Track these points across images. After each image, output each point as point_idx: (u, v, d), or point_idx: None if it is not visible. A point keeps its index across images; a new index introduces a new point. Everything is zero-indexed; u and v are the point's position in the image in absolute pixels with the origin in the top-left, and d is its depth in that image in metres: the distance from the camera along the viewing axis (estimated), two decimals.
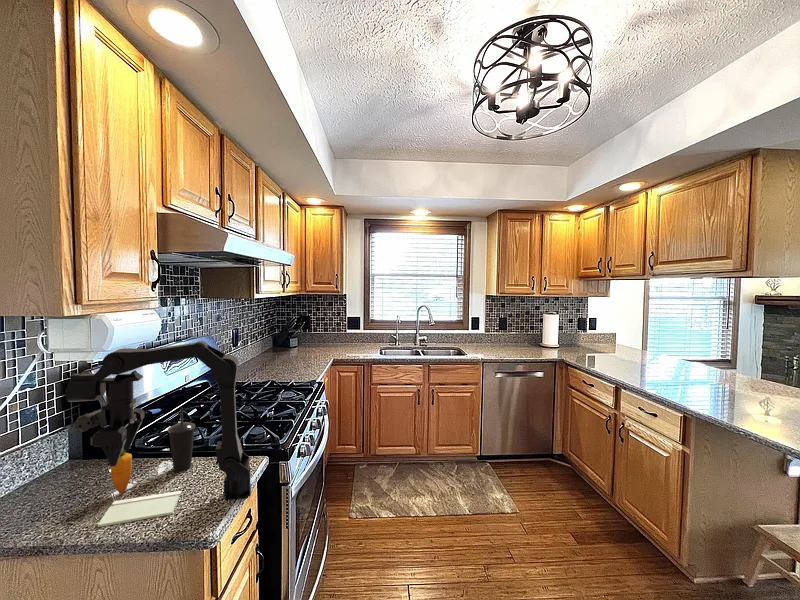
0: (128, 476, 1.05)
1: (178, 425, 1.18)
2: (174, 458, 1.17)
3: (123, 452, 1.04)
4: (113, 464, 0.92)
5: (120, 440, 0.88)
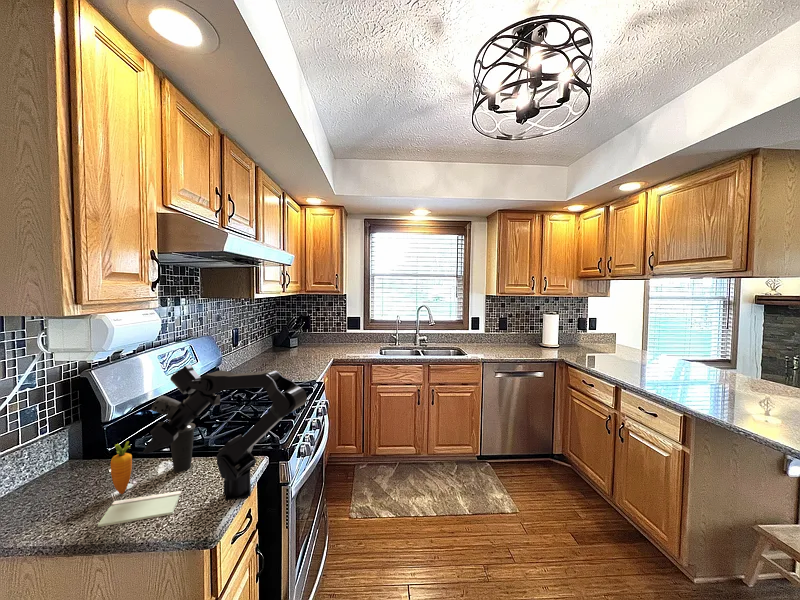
0: (128, 476, 1.05)
1: None
2: (174, 458, 1.17)
3: (123, 452, 1.04)
4: (145, 451, 1.02)
5: (168, 444, 0.99)
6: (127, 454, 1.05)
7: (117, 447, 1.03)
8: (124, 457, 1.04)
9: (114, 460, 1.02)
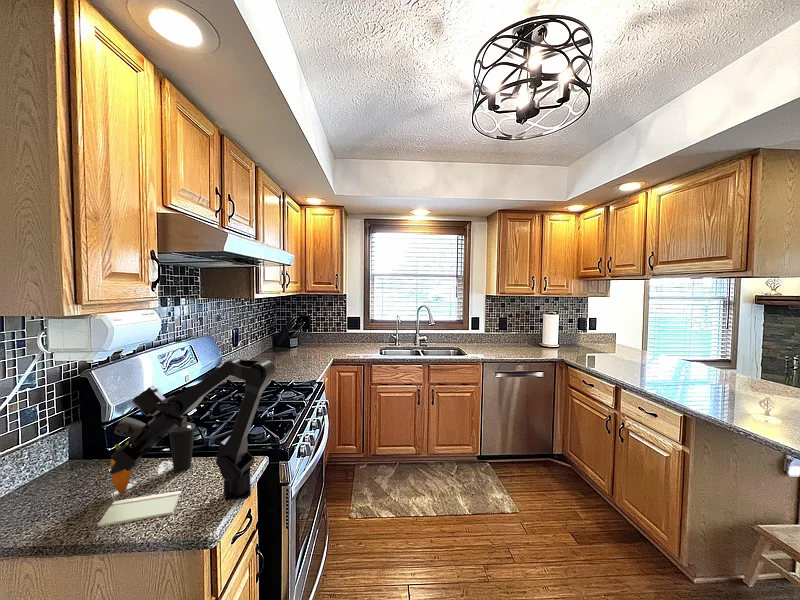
0: (128, 476, 1.05)
1: None
2: (174, 458, 1.17)
3: None
4: (111, 472, 1.02)
5: (130, 469, 0.97)
6: None
7: (117, 447, 1.03)
8: None
9: None
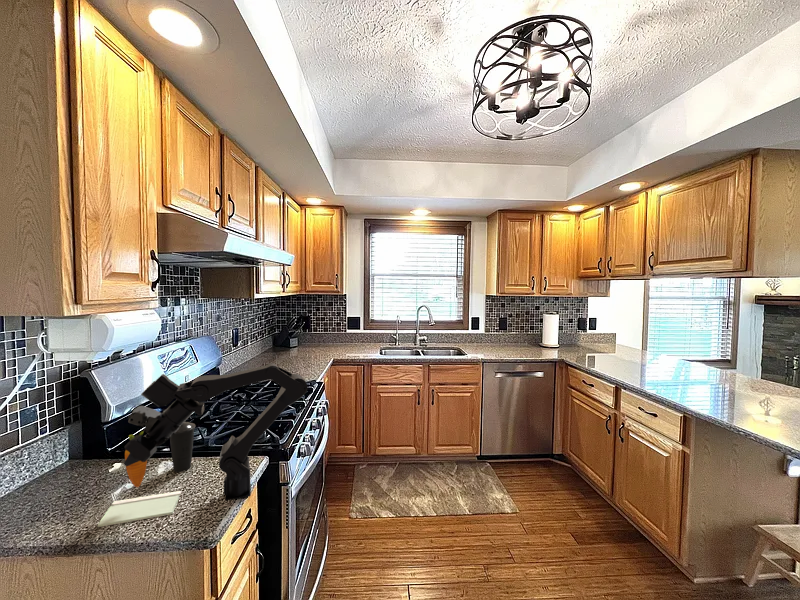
0: (143, 468, 0.98)
1: None
2: (174, 458, 1.17)
3: None
4: (126, 463, 0.95)
5: (145, 460, 0.91)
6: None
7: (131, 438, 0.97)
8: None
9: None
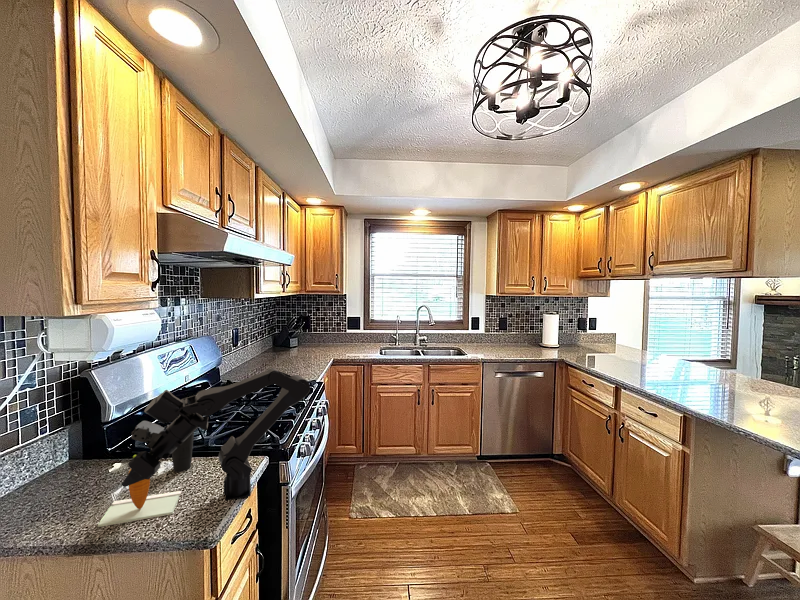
0: (146, 490, 0.97)
1: None
2: (174, 458, 1.17)
3: None
4: (124, 484, 0.92)
5: (149, 477, 0.89)
6: None
7: None
8: None
9: None
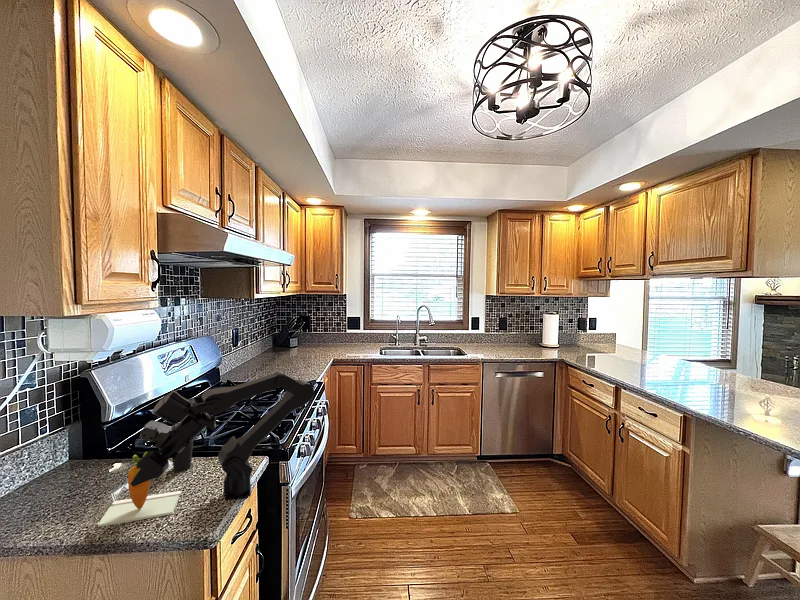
0: (146, 489, 0.97)
1: None
2: None
3: None
4: (133, 484, 0.92)
5: (157, 477, 0.90)
6: None
7: (135, 458, 0.95)
8: None
9: (132, 472, 0.95)
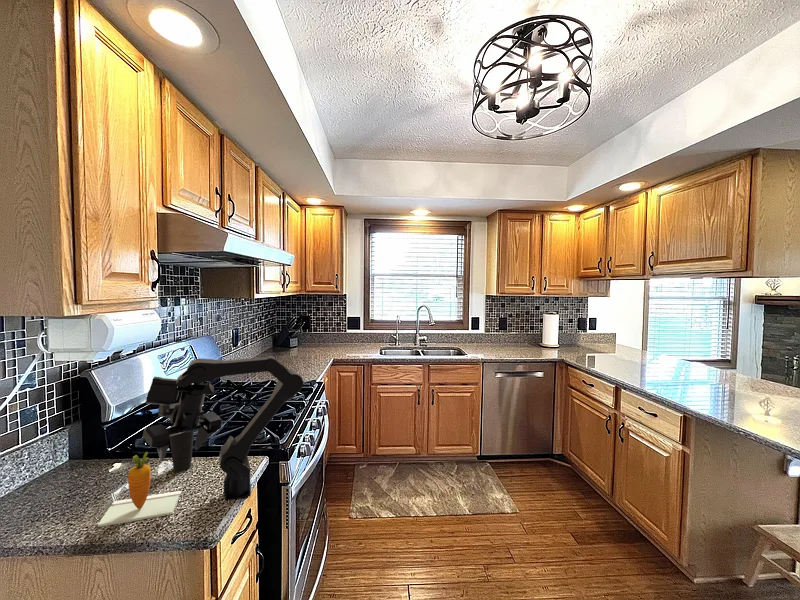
0: (146, 490, 0.97)
1: None
2: (174, 458, 1.17)
3: (141, 464, 0.97)
4: (160, 458, 0.99)
5: (153, 445, 0.93)
6: (146, 466, 0.97)
7: (135, 459, 0.95)
8: (142, 470, 0.96)
9: (132, 473, 0.95)
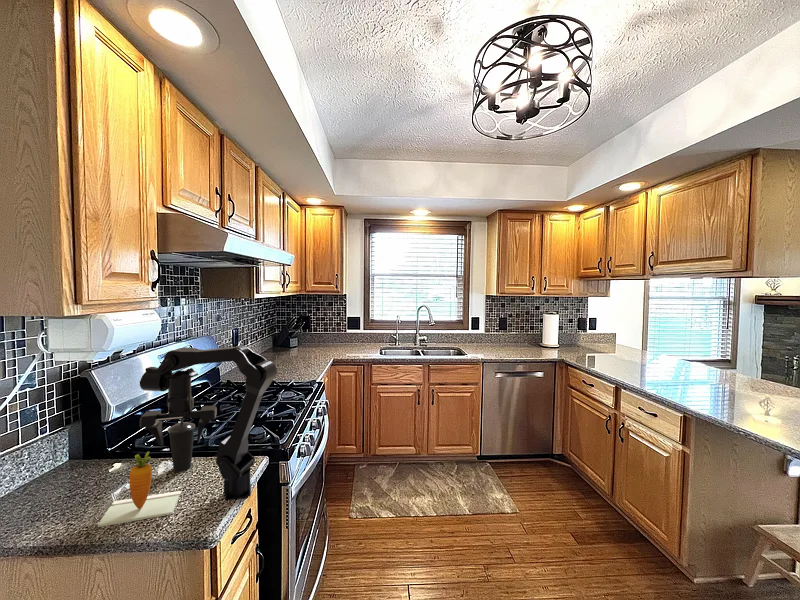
0: (147, 490, 0.97)
1: (178, 425, 1.18)
2: (174, 458, 1.17)
3: (143, 463, 0.97)
4: None
5: (140, 425, 1.02)
6: (147, 466, 0.98)
7: (137, 458, 0.96)
8: (144, 469, 0.96)
9: (134, 472, 0.95)
